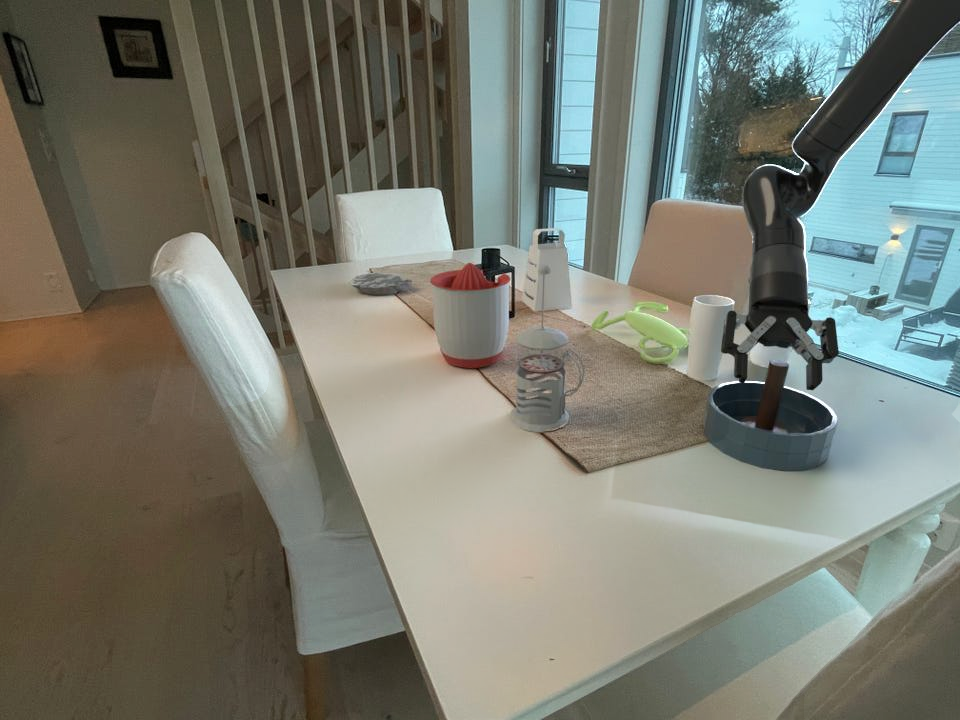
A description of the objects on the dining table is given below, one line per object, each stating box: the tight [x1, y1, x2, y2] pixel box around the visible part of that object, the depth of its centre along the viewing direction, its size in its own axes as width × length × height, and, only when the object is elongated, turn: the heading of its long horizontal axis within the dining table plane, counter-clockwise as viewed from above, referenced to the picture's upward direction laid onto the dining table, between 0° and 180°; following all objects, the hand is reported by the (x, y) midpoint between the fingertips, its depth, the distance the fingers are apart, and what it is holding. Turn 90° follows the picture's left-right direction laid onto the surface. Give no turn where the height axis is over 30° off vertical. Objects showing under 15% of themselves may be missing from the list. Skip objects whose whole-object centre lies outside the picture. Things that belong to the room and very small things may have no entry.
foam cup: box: [749, 298, 812, 369], centre depth 99 cm, size 10×9×13 cm
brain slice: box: [349, 271, 412, 296], centre depth 156 cm, size 20×17×3 cm
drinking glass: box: [685, 294, 735, 382], centre depth 93 cm, size 7×7×15 cm
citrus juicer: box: [429, 262, 511, 370], centre depth 103 cm, size 16×17×20 cm
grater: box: [521, 227, 573, 313], centre depth 136 cm, size 10×10×20 cm
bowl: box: [702, 380, 838, 472], centre depth 74 cm, size 16×16×6 cm
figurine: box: [590, 301, 689, 365], centre depth 113 cm, size 18×27×6 cm
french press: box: [509, 265, 586, 434], centre depth 78 cm, size 10×12×25 cm
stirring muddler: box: [742, 360, 790, 433], centre depth 73 cm, size 6×6×12 cm
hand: (776, 384), depth 71 cm, fingers open, 8 cm apart
